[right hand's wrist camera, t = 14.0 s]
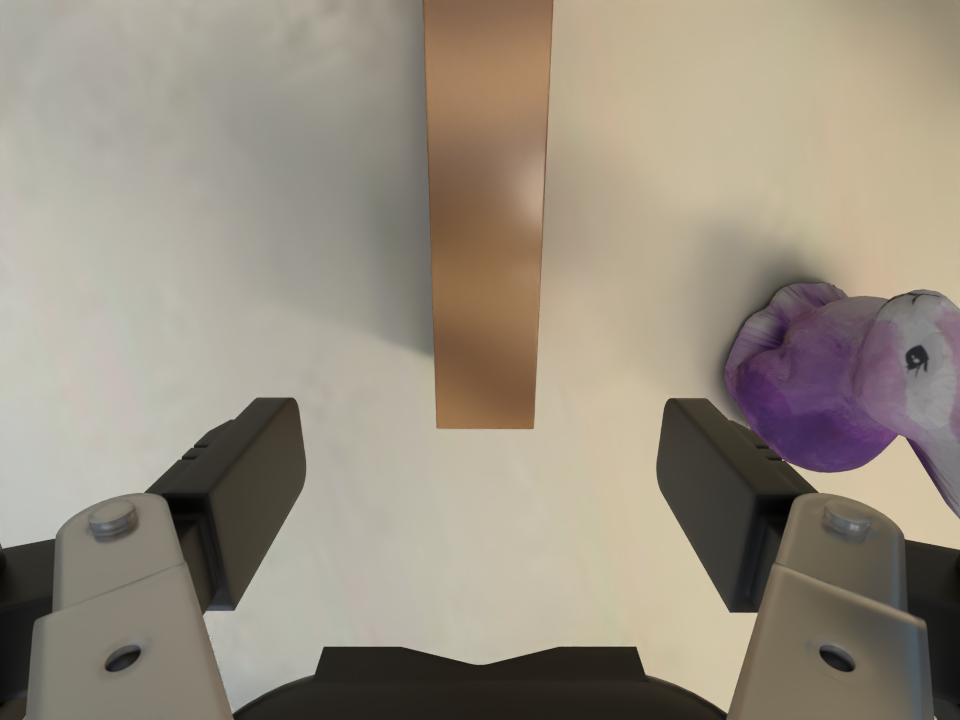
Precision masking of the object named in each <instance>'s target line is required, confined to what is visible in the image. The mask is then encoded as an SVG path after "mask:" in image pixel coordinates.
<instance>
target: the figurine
mask: <svg viewBox="0 0 960 720" xmlns="http://www.w3.org/2000/svg"><path fill="white" fill-rule="evenodd" d="M724 379H725V384H726V387H727V390H728V391H729V393H730V394H731V396H732V397H733V398H734V399H735V400H736V401H737V403H738V406H739V407H740V408H741V410H742V412H743V413H744V415H745V416H746V418H747V420H748V423H749V426H750V428H751V429H752V431H753V432H755V433H756V434H757V435H758V436H759V437H760V438H761V439H762V440H764V441H765V442H766V443H767V444H768V445H769V448H770V449H773V450H774V451H775V452H776V453H777V454H778V455H779V456H780V457H782V459H783V460H785V461H787V462H789V463H791V464H794V465H796V466H799V467H801V468H804V469H807V470H811V471H816V472H826V473H832V472H843V471H848V470H853V469H856V468H859V467H861V466H863V465H865V464H867V463H868V462H870V461H871V460H873V459H874V458H875V457H876V456H878V455H879V454H880V453H881V452H882V451H883V450H884V449H885V448H886V447H887V446H888V445H889V444H890V443H891V442H892V441H893V440H894V439H895V438H896V437H897V436H898V435H901V436H904V437H906V439H907V441H908V442H909V444H910V445H911V447H912V449H913V450H914V452H915V454H916V455H917V457H918V458H919V460H920V462H921V463H922V465H923V467H924V468H925V470H926V471H927V473H928V475H929V476H930V478H931V479H932V481H933V483H934V484H935V486H936V488H937V489H938V491H939V492H940V494H941V496H942V497H943V499H944V501H945V502H946V504H947V505H948V506H949V507H950V508H951V510H952V511H953V512H954V513H955V514H956V515H957V516H958V518H959V519H960V309H959V308H958V307H957V306H956V305H955V304H953V303H952V302H951V301H950V300H949V299H948V298H947V297H946V296H944V295H942V294H941V293H939V292H936V291H930V290H924V289H922V290H914V291H911V292H908V293H906V294H901V295H898V296H895V297H893V298H891V299H890V300H888V299H884V298H879V297H869V296H858V297H849V298H848V296H847V295H846V294H845V293H844V292H843V291H842V290H840V289H838V288H836V287H835V286H834V285H830V284H829V283H819V284H816V283H814V284H812V283H810V284H808V283H805V284H803V283H800V284H799V283H796V284H790V285H789V286H785V287H783V288H782V289H780V290H779V291H778V292H777V293H776V294H775V296H774V298H773V299H772V300H771V301H770V304H769V305H768V306H767V307H766V308H765V309H763V310H762V311H758V312H756V313H755V314H753V315H752V316H751V317H750V318H749V319H748V320H747V321H746V322H745V325H744V326H743V327H742V329H741V331H740V332H739V336H738V338H737V339H736V340H735V344H734V346H733V347H732V349H731V352H730V354H729V358H728V360H727V365H726V366H725V370H724Z"/></svg>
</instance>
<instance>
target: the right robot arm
mask: <svg viewBox="0 0 960 720" xmlns="http://www.w3.org/2000/svg"><path fill="white" fill-rule="evenodd" d="M656 471H657V480H658V484H659V488H660V490H661V492H662V494H663V496H664V498H665V499H666V501H667V503H668V505H669V506H670V508H671V510H672V512H673V513H674V515H675V517H676V519H677V520H678V522H679V524H680V526H681V528H682V529H683V531H684V533H685V535H686V536H687V538H688V540H689V542H690V543H691V545H692V547H693V549H694V550H695V552H696V554H697V556H698V557H699V559H700V561H701V563H702V564H703V566H704V568H705V570H706V571H707V573H708V575H709V577H710V578H711V580H712V582H713V584H714V585H715V587H716V589H717V591H718V593H719V594H720V596H721V598H722V600H723V601H724V603H725V605H726V607H727V608H728V610H729V612H730V613H758V615H757V619H756V622H755V625H754V629H753V632H752V635H751V639H750V642H749V645H748V649H747V652H746V655H745V659H744V662H743V665H742V669H741V672H740V675H739V679H738V682H737V685H736V689H735V692H734V695H733V699H732V702H731V705H730V709H729V712H728V714H727V713H725V712H724V711H723V710H721V709H720V708H718V707H717V706H715V705H714V704H712V703H710V702H709V701H707V700H705V699H704V698H702V697H700V696H698V695H697V694H695V693H693V692H691V691H688V690H686V689H684V688H682V687H680V686H678V685H675V684H673V683H670V682H667V681H664V680H661V679H659V678H656V677H652V676H648V675H645V672H644V669H643V666H642V663H641V660H640V657H639V654H638V651H637V648H636V647H556V648H552V649H548V650H544V651H540V652H536V653H532V654H528V655H524V656H520V657H516V658H511V659H507V660H503V661H499V662H495V663H491V664H486V665H474V664H469V663H465V662H461V661H457V660H453V659H449V658H444V657H440V656H436V655H432V654H428V653H424V652H420V651H416V650H412V649H408V648H404V647H324V648H323V651H322V654H321V657H320V660H319V663H318V666H317V669H316V672H315V675H312V676H308V677H304V678H301V679H299V680H296V681H293V682H290V683H287V684H285V685H282V686H280V687H278V688H276V689H274V690H272V691H269V692H267V693H265V694H263V695H262V696H260V697H258V698H256V699H255V700H253V701H251V702H250V703H248V704H246V705H245V706H243V707H242V708H240V709H239V710H237V711H236V712H235V713H233V714H232V712H231V709H230V705H229V702H228V699H227V695H226V692H225V689H224V685H223V682H222V679H221V675H220V672H219V669H218V665H217V662H216V659H215V655H214V652H213V649H212V645H211V642H210V639H209V635H208V632H207V629H206V625H205V622H204V619H203V615H204V613H205V611H234V610H235V608H236V607H237V605H238V603H239V601H240V599H241V598H242V596H243V594H244V592H245V591H246V589H247V587H248V585H249V583H250V582H251V580H252V578H253V576H254V575H255V573H256V571H257V569H258V567H259V566H260V564H261V562H262V560H263V559H264V557H265V555H266V553H267V551H268V550H269V548H270V546H271V544H272V543H273V541H274V539H275V537H276V535H277V534H278V532H279V530H280V528H281V527H282V525H283V523H284V521H285V519H286V518H287V516H288V514H289V512H290V511H291V509H292V507H293V505H294V503H295V502H296V500H297V498H298V496H299V494H300V493H301V491H302V489H303V486H304V482H305V477H306V458H305V450H304V443H303V436H302V428H301V421H300V414H299V408H298V404H297V402H296V400H295V399H294V398H256V399H255V400H254V401H253V402H252V403H251V404H250V405H249V406H248V407H247V408H246V409H245V410H244V411H243V412H242V413H241V414H240V415H239V416H238V417H237V418H236V419H235V420H229V421H227V422H225V423H224V424H222V425H220V426H218V427H216V428H214V429H212V430H210V431H209V432H207V433H206V434H205V435H204V436H203V437H202V438H201V439H200V440H199V441H198V442H197V443H196V444H195V445H194V448H191V449H190V450H189V451H187V452H186V453H185V454H184V455H183V456H182V460H178V461H177V462H176V463H175V464H174V465H173V466H172V467H171V468H170V469H169V470H167V471H166V472H165V473H164V474H163V475H162V476H161V477H160V478H159V479H158V480H157V481H156V482H155V483H154V484H153V485H152V486H151V487H150V488H149V489H148V490H146V491H145V492H144V493H135V494H127V495H122V496H118V497H114V498H111V499H108V500H105V501H102V502H99V503H97V504H94V505H92V506H90V507H88V508H86V509H84V510H83V511H81V512H79V513H77V514H76V515H75V516H73V517H72V518H70V519H69V520H68V521H67V522H66V523H65V524H64V525H63V526H62V527H61V528H60V529H59V531H58V533H57V534H56V538H55V539H51V540H46V541H41V542H35V543H30V544H25V545H20V546H15V547H9V548H4V549H2V546H1V544H0V720H22V719H23V718H24V717H25V716H26V720H934V716H935V717H936V718H937V719H938V720H960V550H957V549H952V548H947V547H942V546H936V545H931V544H926V543H921V542H916V541H910V540H906V539H905V538H904V534H903V533H902V531H901V529H900V528H899V527H898V526H897V525H896V524H895V523H894V522H893V521H892V520H891V519H890V518H888V517H887V516H885V515H884V514H883V513H881V512H879V511H877V510H876V509H874V508H872V507H870V506H868V505H866V504H863V503H861V502H858V501H855V500H852V499H849V498H846V497H842V496H838V495H833V494H825V493H819V492H818V491H817V490H816V489H814V488H813V487H812V486H811V485H810V484H809V483H808V482H807V481H806V480H805V479H804V478H803V477H802V476H801V475H800V474H799V473H797V472H796V471H795V470H794V469H793V468H792V467H791V466H790V465H789V464H788V463H787V462H786V461H782V457H780V456H779V455H778V454H777V453H776V452H775V451H774V450H773V449H770V448H769V445H768V444H767V443H766V442H765V441H764V440H762V439H761V438H760V437H759V436H758V435H757V434H756V433H755V432H753V431H751V430H750V429H748V428H746V427H744V426H742V425H740V424H738V423H736V422H734V421H732V420H728V419H727V418H726V417H725V416H724V415H723V414H722V413H721V412H720V411H719V410H718V409H717V408H716V407H715V406H714V405H713V404H712V403H711V402H710V401H709V400H708V399H706V398H670V399H668V401H667V402H666V404H665V408H664V413H663V420H662V427H661V435H660V442H659V449H658V456H657V465H656Z"/></svg>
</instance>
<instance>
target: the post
mask: <svg viewBox="0 0 960 720" xmlns="http://www.w3.org/2000/svg"><path fill="white" fill-rule="evenodd" d="M552 20H553V0H423V21H424V53H425V84H426V115H427V146H428V178H429V209H430V240H431V272H432V303H433V334H434V365H435V397H436V427H437V429H533V428H534V413H535V391H536V369H537V347H538V325H539V303H540V282H541V260H542V238H543V216H544V194H545V172H546V151H547V129H548V107H549V85H550V63H551V41H552Z"/></svg>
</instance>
